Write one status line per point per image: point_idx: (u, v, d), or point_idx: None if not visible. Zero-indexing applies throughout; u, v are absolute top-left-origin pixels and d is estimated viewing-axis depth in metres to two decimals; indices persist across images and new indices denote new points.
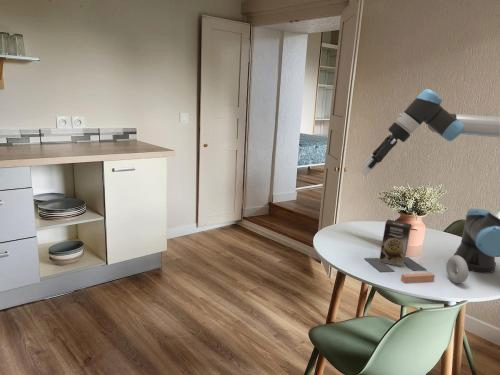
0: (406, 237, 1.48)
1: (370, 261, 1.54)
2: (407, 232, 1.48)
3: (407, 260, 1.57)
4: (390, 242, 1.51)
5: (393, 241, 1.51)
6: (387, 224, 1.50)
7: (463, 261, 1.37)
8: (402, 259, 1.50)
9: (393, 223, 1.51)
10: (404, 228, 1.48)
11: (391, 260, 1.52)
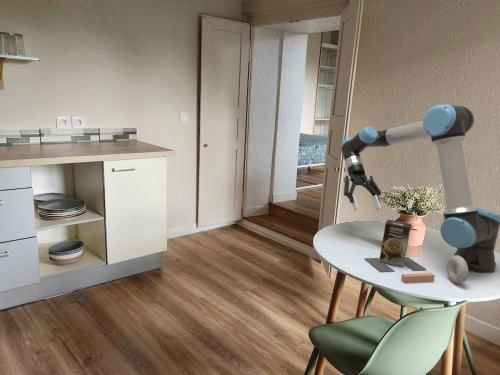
0: (406, 237, 1.48)
1: (370, 261, 1.54)
2: (407, 232, 1.48)
3: (407, 260, 1.57)
4: (390, 242, 1.51)
5: (393, 241, 1.51)
6: (387, 224, 1.51)
7: (463, 261, 1.37)
8: (402, 259, 1.50)
9: (393, 223, 1.51)
10: (404, 228, 1.48)
11: (391, 260, 1.52)
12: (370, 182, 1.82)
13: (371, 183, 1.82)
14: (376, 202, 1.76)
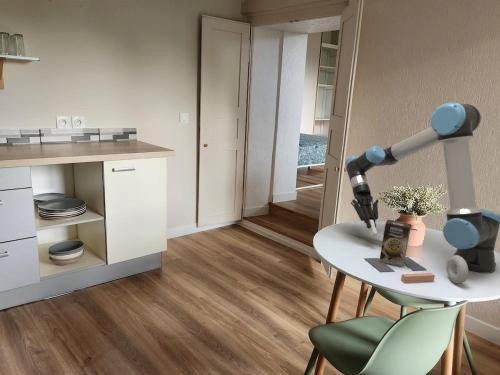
0: (406, 237, 1.48)
1: (370, 261, 1.54)
2: (407, 232, 1.48)
3: (407, 260, 1.57)
4: (390, 242, 1.51)
5: (393, 241, 1.51)
6: (387, 224, 1.51)
7: (463, 261, 1.37)
8: (402, 259, 1.50)
9: (393, 223, 1.51)
10: (404, 228, 1.48)
11: (391, 260, 1.52)
12: (373, 205, 1.75)
13: (373, 206, 1.75)
14: None
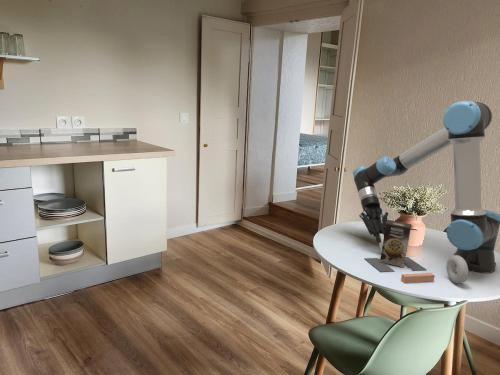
0: (407, 237, 1.48)
1: (370, 261, 1.54)
2: (408, 232, 1.47)
3: (407, 260, 1.57)
4: (390, 242, 1.51)
5: (393, 241, 1.50)
6: (388, 224, 1.50)
7: (463, 261, 1.37)
8: (403, 259, 1.50)
9: (394, 223, 1.50)
10: (405, 228, 1.48)
11: (392, 261, 1.52)
12: (383, 218, 1.68)
13: (383, 219, 1.68)
14: (382, 242, 1.61)
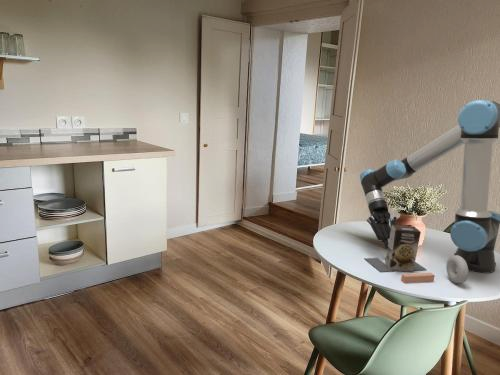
0: (417, 241, 1.44)
1: (370, 261, 1.54)
2: (418, 236, 1.44)
3: None
4: (401, 249, 1.45)
5: (404, 247, 1.45)
6: (398, 231, 1.43)
7: (463, 261, 1.37)
8: (413, 264, 1.46)
9: (403, 229, 1.45)
10: (415, 233, 1.43)
11: (402, 267, 1.47)
12: (391, 222, 1.62)
13: (392, 224, 1.62)
14: None
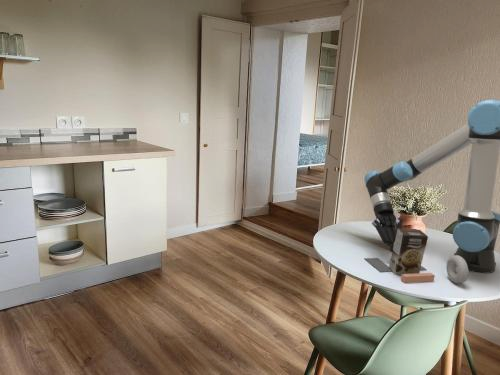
0: (424, 246, 1.41)
1: (370, 261, 1.54)
2: (425, 241, 1.40)
3: None
4: (408, 254, 1.41)
5: (411, 252, 1.41)
6: (406, 236, 1.39)
7: (463, 261, 1.37)
8: (418, 268, 1.44)
9: (410, 233, 1.40)
10: (423, 238, 1.40)
11: (408, 271, 1.44)
12: (397, 225, 1.59)
13: (397, 227, 1.58)
14: None
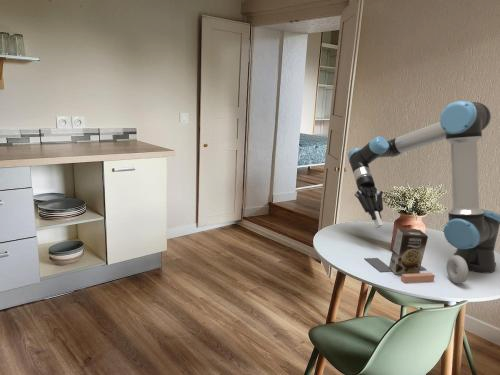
0: (424, 246, 1.41)
1: (370, 261, 1.54)
2: (425, 241, 1.40)
3: None
4: (408, 253, 1.41)
5: (411, 252, 1.41)
6: (406, 236, 1.39)
7: (463, 261, 1.37)
8: (418, 268, 1.44)
9: (410, 233, 1.41)
10: (423, 237, 1.40)
11: (408, 271, 1.44)
12: (378, 196, 1.72)
13: (378, 197, 1.72)
14: None
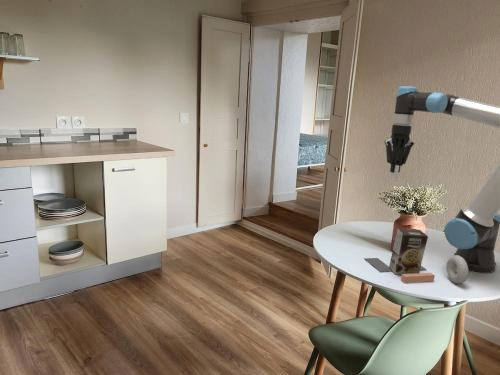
0: (424, 246, 1.41)
1: (370, 261, 1.54)
2: (425, 241, 1.40)
3: None
4: (408, 253, 1.41)
5: (411, 252, 1.41)
6: (406, 236, 1.39)
7: (463, 261, 1.37)
8: (418, 268, 1.44)
9: (410, 233, 1.41)
10: (423, 237, 1.40)
11: (408, 271, 1.44)
12: (407, 146, 1.66)
13: (406, 148, 1.66)
14: None
